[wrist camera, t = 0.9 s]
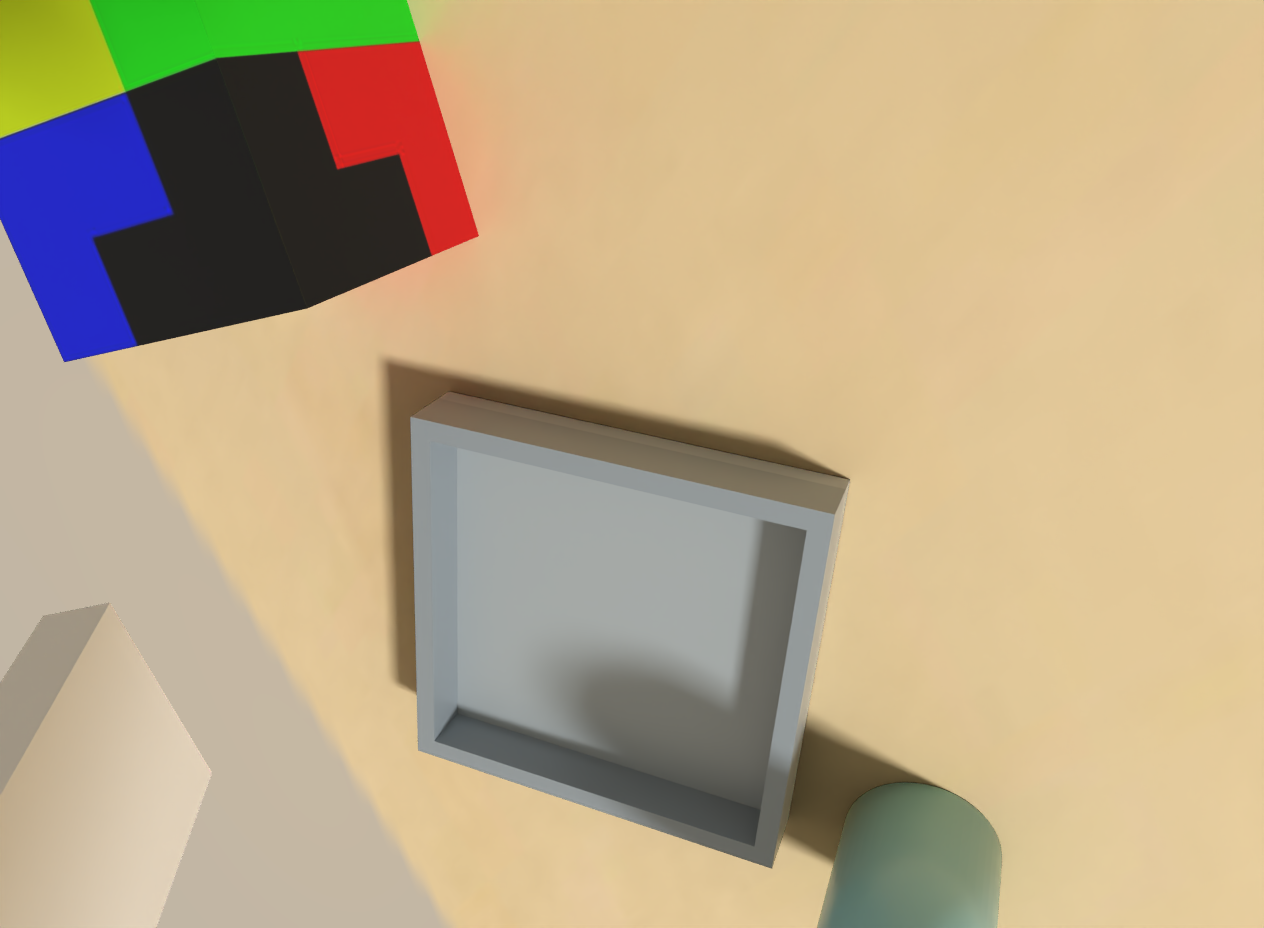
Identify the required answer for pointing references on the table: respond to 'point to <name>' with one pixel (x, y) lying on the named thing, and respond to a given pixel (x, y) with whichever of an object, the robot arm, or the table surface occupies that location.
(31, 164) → the puzzle toy
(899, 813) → the ball tube
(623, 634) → the tray
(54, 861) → the robot arm
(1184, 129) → the table surface
